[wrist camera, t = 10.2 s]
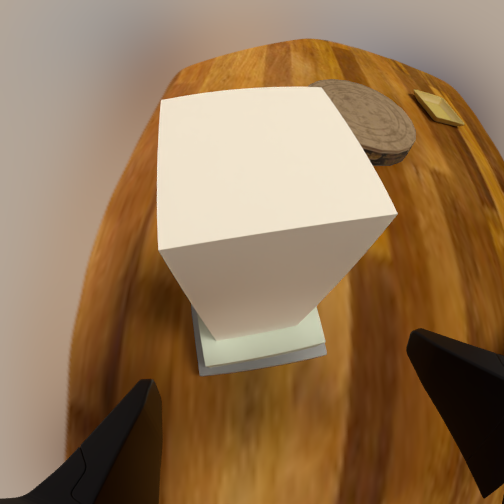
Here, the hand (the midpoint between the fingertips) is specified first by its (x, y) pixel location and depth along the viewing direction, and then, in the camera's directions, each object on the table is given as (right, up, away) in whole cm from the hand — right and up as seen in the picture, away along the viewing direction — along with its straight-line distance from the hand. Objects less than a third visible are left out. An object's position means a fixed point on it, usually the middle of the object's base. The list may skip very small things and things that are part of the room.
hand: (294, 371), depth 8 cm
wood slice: (+13, +21, +25) cm, 35 cm away
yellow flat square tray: (+33, +30, +30) cm, 54 cm away
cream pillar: (-2, +1, +9) cm, 10 cm away
